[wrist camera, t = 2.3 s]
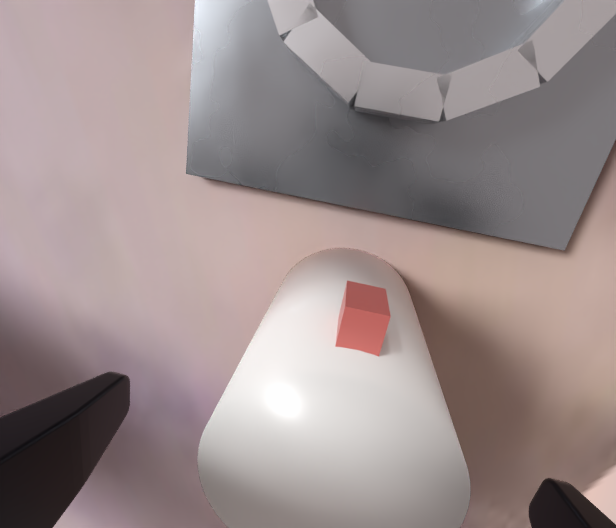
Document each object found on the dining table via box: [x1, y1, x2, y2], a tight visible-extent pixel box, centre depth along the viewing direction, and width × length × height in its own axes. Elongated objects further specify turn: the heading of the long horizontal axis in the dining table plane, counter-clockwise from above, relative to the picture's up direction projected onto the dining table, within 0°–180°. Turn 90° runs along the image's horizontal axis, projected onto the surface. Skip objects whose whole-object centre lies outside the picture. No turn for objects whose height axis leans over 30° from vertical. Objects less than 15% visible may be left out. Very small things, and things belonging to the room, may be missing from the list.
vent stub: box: [198, 248, 470, 528], centre depth 10 cm, size 6×5×7 cm
